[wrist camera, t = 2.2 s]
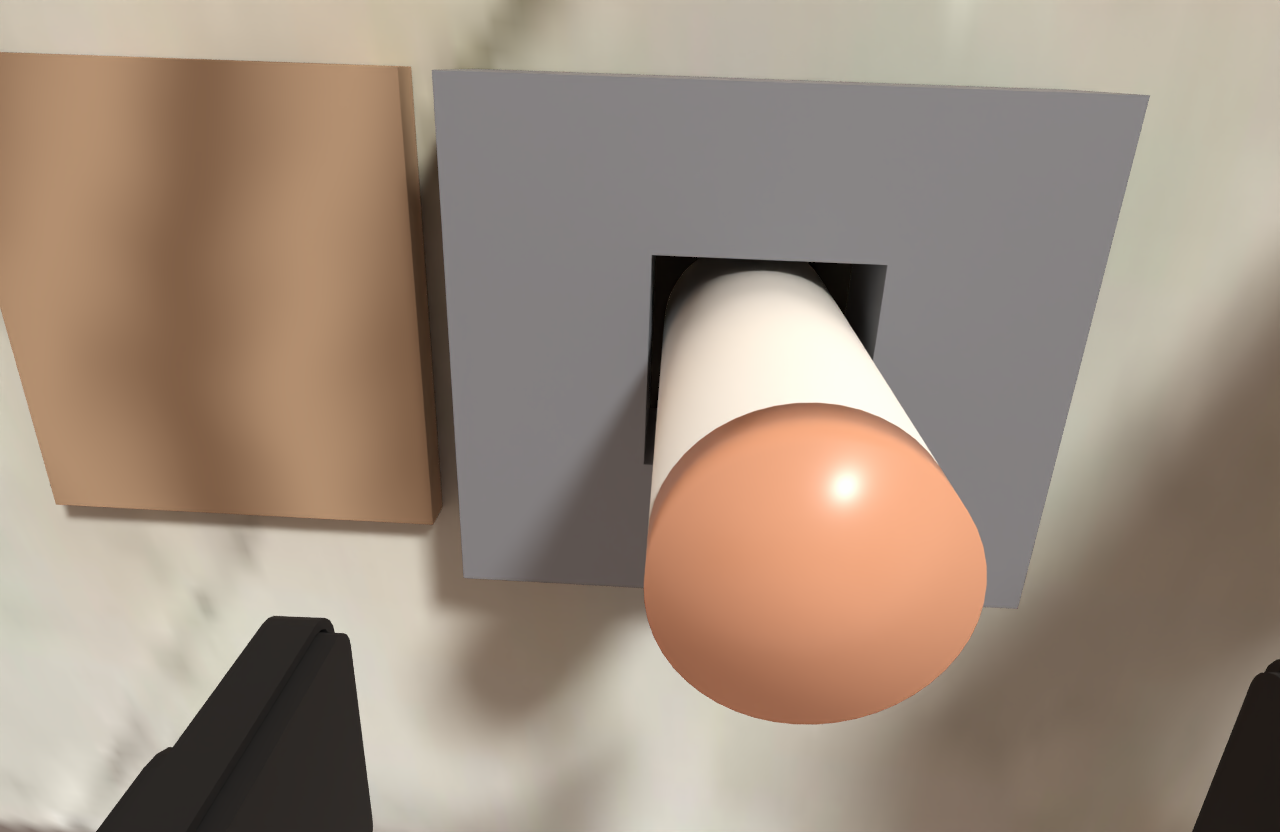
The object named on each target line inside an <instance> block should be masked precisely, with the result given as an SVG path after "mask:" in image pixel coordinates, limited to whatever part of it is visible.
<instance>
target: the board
mask: <svg viewBox="0 0 1280 832" xmlns="http://www.w3.org/2000/svg"><path fill="white" fill-rule="evenodd" d="M0 308H1V312H2V315H3V319H4V322H5V326H6V329H7V333H8V336H9V340H10V343H11V347H12V350H13V354H14V358H15V361H16V365H17V368H18V372H19V375H20V379H21V382H22V386H23V389H24V393H25V396H26V400H27V403H28V407H29V411H30V414H31V418H32V421H33V425H34V428H35V432H36V435H37V439H38V442H39V446H40V449H41V453H42V457H43V460H44V464H45V467H46V471H47V474H48V478H49V481H50V485H51V488H52V492H53V495H54V499H55V502H56V504H57V505H76V506H94V507H113V508H132V509H150V510H169V511H188V512H206V513H225V514H244V515H262V516H281V517H300V518H318V519H337V520H356V521H374V522H393V523H412V524H430V525H433V524H434V522H435V520H436V518H437V516H438V515H439V513H440V511H441V509H442V494H441V480H440V466H439V452H438V438H437V424H436V410H435V396H434V382H433V368H432V354H431V340H430V326H429V312H428V298H427V284H426V270H425V256H424V242H423V228H422V214H421V201H420V187H419V173H418V159H417V145H416V131H415V117H414V103H413V89H412V75H411V67H405V66H377V65H349V64H320V63H292V62H264V61H235V60H207V59H178V58H150V57H122V56H93V55H65V54H37V53H8V52H0Z"/></svg>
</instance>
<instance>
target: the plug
mask: <svg viewBox="0 0 1280 832" xmlns="http://www.w3.org/2000/svg"><path fill="white" fill-rule="evenodd" d="M986 586H987V565H986V559H985V553H984V547H983V544H982V541H981V538H980V535H979V532H978V529H977V527H976V525H975V524H974V522H973V520H972V518H971V516H970V514H969V512H968V511H967V509H966V507H965V506H964V504H963V503H962V501H961V500H960V498H959V496H958V495H957V493H956V492H955V490H954V488H953V487H952V485H951V484H950V482H949V481H948V479H947V477H946V476H945V474H944V473H943V471H942V470H941V468H940V466H939V465H938V463H937V462H936V460H935V458H934V457H933V455H932V454H931V452H930V451H929V449H928V447H927V446H926V444H925V443H924V441H923V439H922V438H921V436H920V435H919V433H918V432H917V430H916V428H915V427H914V425H913V424H912V422H911V421H910V419H909V417H908V416H907V414H906V413H905V411H904V409H903V408H902V406H901V405H900V403H899V402H898V400H897V398H896V397H895V395H894V394H893V392H892V391H891V389H890V387H889V386H888V384H887V383H886V381H885V379H884V378H883V376H882V375H881V373H880V372H879V370H878V368H877V367H876V365H875V364H874V362H873V361H872V359H871V357H870V356H869V354H868V353H867V351H866V349H865V348H864V346H863V345H862V343H861V342H860V340H859V338H858V337H857V335H856V334H855V332H854V331H853V329H852V327H851V326H850V324H849V323H848V321H847V319H846V318H845V316H844V315H843V313H842V312H841V310H840V308H839V307H838V305H837V304H836V302H835V301H834V299H833V297H832V296H831V294H830V293H829V291H828V289H827V288H826V286H825V285H824V283H823V282H822V280H821V278H820V277H819V276H818V274H817V273H816V272H815V270H814V269H813V268H812V267H811V266H810V265H809V264H808V263H807V262H805V261H781V260H758V259H734V258H711V257H700V258H699V259H697V260H696V261H695V262H694V263H692V264H691V265H690V266H689V267H688V268H687V269H686V270H685V271H684V273H683V274H682V275H681V277H680V278H679V279H678V281H677V282H676V284H675V286H674V288H673V289H672V292H671V294H670V297H669V299H668V302H667V306H666V310H665V319H664V330H663V343H662V356H661V369H660V382H659V395H658V408H657V421H656V433H655V446H654V459H653V472H652V485H651V498H650V511H649V523H648V536H647V549H646V562H645V575H644V603H645V608H646V613H647V618H648V622H649V625H650V628H651V630H652V633H653V636H654V638H655V640H656V642H657V644H658V646H659V647H660V649H661V651H662V653H663V654H664V656H665V657H666V659H667V660H668V661H669V663H670V664H671V665H672V667H673V668H674V669H675V670H676V671H677V672H678V673H679V674H680V675H681V676H682V677H683V678H684V679H685V680H686V681H687V682H688V683H689V684H691V685H692V686H693V687H694V688H696V689H697V690H698V691H699V692H701V693H702V694H704V695H705V696H707V697H709V698H710V699H712V700H714V701H715V702H717V703H719V704H721V705H723V706H725V707H727V708H730V709H732V710H734V711H736V712H739V713H742V714H745V715H748V716H751V717H754V718H759V719H763V720H768V721H773V722H780V723H789V724H825V723H836V722H841V721H847V720H852V719H857V718H860V717H864V716H867V715H870V714H874V713H877V712H879V711H882V710H884V709H886V708H889V707H891V706H894V705H896V704H898V703H900V702H902V701H903V700H905V699H907V698H909V697H911V696H913V695H914V694H916V693H917V692H919V691H920V690H921V689H923V688H924V687H926V686H927V685H929V684H930V683H931V682H932V681H933V680H935V679H936V678H937V677H938V676H939V675H940V674H941V673H943V672H944V671H945V670H946V669H947V668H948V666H949V665H950V664H951V663H952V662H953V661H954V660H955V659H956V657H957V656H958V655H959V654H960V652H961V651H962V649H963V648H964V646H965V645H966V643H967V642H968V640H969V639H970V637H971V635H972V633H973V631H974V629H975V627H976V625H977V622H978V620H979V617H980V614H981V610H982V607H983V604H984V599H985V592H986Z"/></svg>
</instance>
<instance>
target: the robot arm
mask: <svg viewBox="0 0 1280 832" xmlns="http://www.w3.org/2000/svg"><path fill="white" fill-rule="evenodd" d="M96 832H373V820H372V812H371V804H370V796H369V788H368V780H367V772H366V764H365V756H364V748H363V740H362V732H361V724H360V716H359V708H358V700H357V691H356V683H355V675H354V667H353V659H352V651H351V644H350V640H349V637H348V636H347V634H344V633H335V632H334V628H333V625H332V623H331V622H330V620H328V619H326V618H310V617H286V616H273V617H270V618H268V619H267V620H266V621H265V622H264V623H263V624H262V625H261V627H260V628H259V630H258V631H257V632H256V634H255V635H254V636H253V638H252V639H251V641H250V642H249V643H248V645H247V646H246V647H245V649H244V650H243V652H242V653H241V654H240V656H239V657H238V658H237V660H236V661H235V663H234V664H233V665H232V667H231V668H230V669H229V671H228V672H227V674H226V675H225V676H224V678H223V679H222V680H221V682H220V683H219V685H218V686H217V687H216V689H215V690H214V691H213V693H212V694H211V696H210V697H209V698H208V700H207V701H206V702H205V704H204V705H203V707H202V708H201V709H200V711H199V712H198V713H197V715H196V716H195V718H194V719H193V720H192V722H191V723H190V724H189V726H188V727H187V729H186V730H185V731H184V733H183V734H182V735H181V737H180V738H179V740H178V741H177V742H176V744H175V745H174V746H173V747H168V748H167V749H165V750H163V751H161V752H160V753H158V754H156V755H155V756H154V758H153V759H152V760H151V761H150V762H149V763H148V764H147V765H146V766H145V767H144V768H143V770H142V771H141V772H140V774H139V775H138V776H137V778H136V779H135V780H134V782H133V783H132V784H131V786H130V787H129V788H128V790H127V791H126V792H125V794H124V795H123V796H122V798H121V799H120V800H119V802H118V803H117V804H116V806H115V807H114V808H113V810H112V811H111V812H110V814H109V815H108V816H107V818H106V819H105V821H104V822H103V823H102V825H101V826H100V827H99V829H98V830H97V831H96ZM1192 832H1280V659H1278V660H1276V661H1274V662H1273V663H1271V664H1270V665H1269V666H1268V667H1267V669H1266V671H1265V672H1264V673H1260V674H1258V675H1257V676H1256V677H1255V678H1254V679H1253V681H1252V682H1251V684H1250V687H1249V689H1248V692H1247V695H1246V697H1245V700H1244V702H1243V705H1242V707H1241V710H1240V712H1239V715H1238V717H1237V720H1236V722H1235V725H1234V727H1233V730H1232V732H1231V735H1230V738H1229V740H1228V743H1227V745H1226V748H1225V750H1224V753H1223V755H1222V758H1221V760H1220V763H1219V765H1218V768H1217V770H1216V773H1215V775H1214V778H1213V781H1212V783H1211V786H1210V788H1209V791H1208V793H1207V796H1206V798H1205V801H1204V803H1203V806H1202V808H1201V811H1200V813H1199V816H1198V819H1197V821H1196V824H1195V826H1194V829H1193V831H1192Z"/></svg>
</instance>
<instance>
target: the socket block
mask: <svg viewBox="0 0 1280 832" xmlns="http://www.w3.org/2000/svg"><path fill="white" fill-rule="evenodd" d="M432 79H433V95H434V111H435V127H436V143H437V159H438V175H439V191H440V207H441V223H442V239H443V255H444V271H445V287H446V303H447V319H448V335H449V351H450V367H451V383H452V399H453V415H454V431H455V447H456V463H457V479H458V495H459V511H460V527H461V543H462V559H463V575H464V578H474V579H492V580H510V581H528V582H546V583H564V584H582V585H600V586H618V587H636V588H644V575H645V562H646V549H647V536H648V523H649V511H650V498H651V485H652V472H653V459H654V446H655V433H656V421H657V408H649V406H650V381H651V356H652V330H653V305H654V280H655V255H664V256H687V257H711V258H734V259H758V260H781V261H805V262H829V263H852V267H851V274H850V282H849V289H848V296H847V304H846V311H845V318H846V319H847V321H848V323H849V324H850V326H851V327H852V329H853V331H854V332H855V334H856V335H857V337H858V338H859V340H860V342H861V343H862V345H863V346H864V348H865V349H866V351H867V353H868V354H869V356H870V357H871V359H872V361H873V362H874V364H875V365H876V367H877V368H878V370H879V372H880V373H881V375H882V376H883V378H884V379H885V381H886V383H887V384H888V386H889V387H890V389H891V391H892V392H893V394H894V395H895V397H896V398H897V400H898V402H899V403H900V405H901V406H902V408H903V409H904V411H905V413H906V414H907V416H908V417H909V419H910V421H911V422H912V424H913V425H914V427H915V428H916V430H917V432H918V433H919V435H920V436H921V438H922V439H923V441H924V443H925V444H926V446H927V447H928V449H929V451H930V452H931V454H932V455H933V457H934V458H935V460H936V462H937V463H938V465H939V466H940V468H941V470H942V471H943V473H944V474H945V476H946V477H947V479H948V481H949V482H950V484H951V485H952V487H953V488H954V490H955V492H956V493H957V495H958V496H959V498H960V500H961V501H962V503H963V504H964V506H965V507H966V509H967V511H968V512H969V514H970V516H971V518H972V520H973V522H974V524H975V525H976V527H977V529H978V532H979V535H980V538H981V541H982V544H983V547H984V553H985V559H986V565H987V586H986V592H985V599H984V604H983V607H995V608H1013V609H1018V605H1019V601H1020V598H1021V594H1022V590H1023V586H1024V582H1025V578H1026V574H1027V570H1028V566H1029V563H1030V559H1031V555H1032V551H1033V547H1034V543H1035V539H1036V535H1037V532H1038V528H1039V524H1040V520H1041V516H1042V512H1043V508H1044V504H1045V501H1046V497H1047V493H1048V489H1049V485H1050V481H1051V477H1052V473H1053V469H1054V466H1055V462H1056V458H1057V454H1058V450H1059V446H1060V442H1061V438H1062V435H1063V431H1064V427H1065V423H1066V419H1067V415H1068V411H1069V407H1070V403H1071V400H1072V396H1073V392H1074V388H1075V384H1076V380H1077V376H1078V372H1079V369H1080V365H1081V361H1082V357H1083V353H1084V349H1085V345H1086V341H1087V337H1088V334H1089V330H1090V326H1091V322H1092V318H1093V314H1094V310H1095V306H1096V303H1097V299H1098V295H1099V291H1100V287H1101V283H1102V279H1103V275H1104V272H1105V268H1106V264H1107V260H1108V256H1109V252H1110V248H1111V244H1112V240H1113V237H1114V233H1115V229H1116V225H1117V221H1118V217H1119V213H1120V209H1121V206H1122V202H1123V198H1124V194H1125V190H1126V186H1127V182H1128V178H1129V174H1130V171H1131V167H1132V163H1133V159H1134V155H1135V151H1136V147H1137V143H1138V140H1139V136H1140V132H1141V128H1142V124H1143V120H1144V116H1145V112H1146V109H1147V105H1148V101H1149V97H1150V95H1137V94H1122V93H1108V92H1093V91H1079V90H1057V89H1029V88H1000V87H972V86H944V85H915V84H887V83H859V82H830V81H802V80H774V79H745V78H717V77H689V76H660V75H632V74H604V73H575V72H547V71H519V70H490V69H450V70H432Z"/></svg>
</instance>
